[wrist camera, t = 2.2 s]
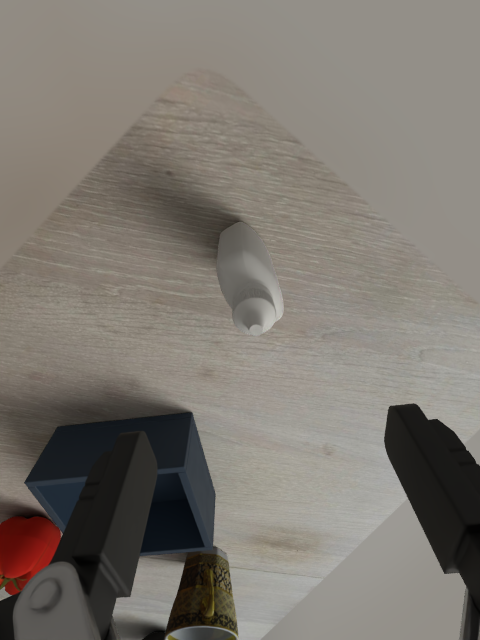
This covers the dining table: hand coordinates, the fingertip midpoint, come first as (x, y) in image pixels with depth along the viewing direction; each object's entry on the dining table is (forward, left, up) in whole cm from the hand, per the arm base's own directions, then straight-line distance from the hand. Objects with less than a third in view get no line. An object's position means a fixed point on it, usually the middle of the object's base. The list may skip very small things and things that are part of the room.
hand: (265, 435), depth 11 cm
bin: (+25, -16, -19) cm, 35 cm away
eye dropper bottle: (0, 0, -19) cm, 19 cm away
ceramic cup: (+48, -12, -19) cm, 53 cm away
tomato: (+36, -35, -19) cm, 54 cm away
